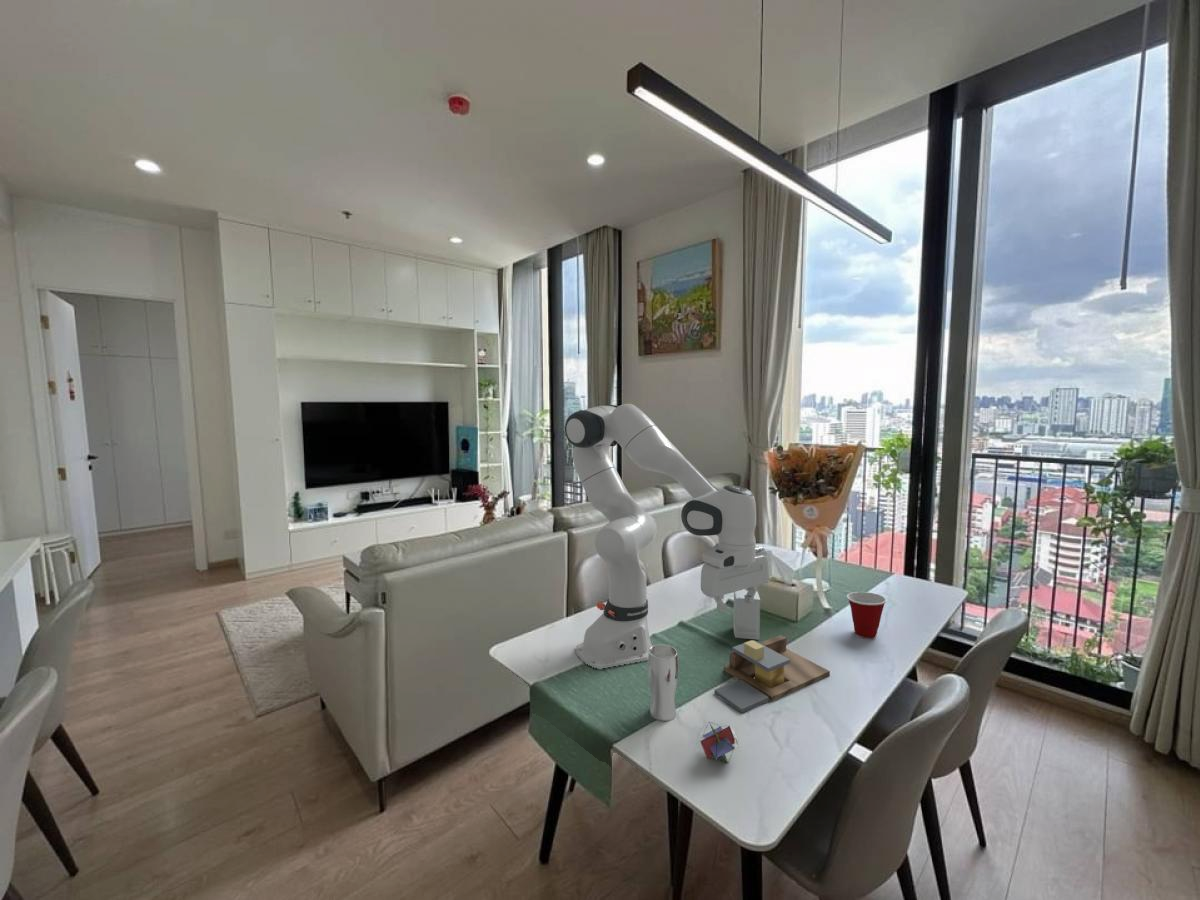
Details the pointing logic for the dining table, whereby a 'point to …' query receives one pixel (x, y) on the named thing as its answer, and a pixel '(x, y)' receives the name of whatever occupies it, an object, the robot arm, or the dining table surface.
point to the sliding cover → (761, 655)
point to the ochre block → (770, 676)
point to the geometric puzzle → (719, 742)
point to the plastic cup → (866, 612)
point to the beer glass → (663, 681)
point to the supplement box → (746, 616)
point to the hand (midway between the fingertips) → (735, 606)
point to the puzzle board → (795, 672)
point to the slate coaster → (741, 696)
